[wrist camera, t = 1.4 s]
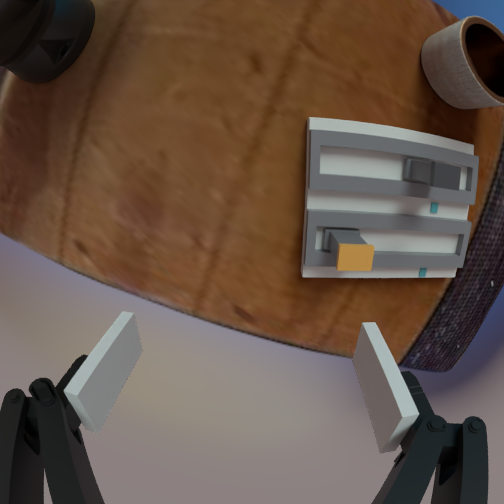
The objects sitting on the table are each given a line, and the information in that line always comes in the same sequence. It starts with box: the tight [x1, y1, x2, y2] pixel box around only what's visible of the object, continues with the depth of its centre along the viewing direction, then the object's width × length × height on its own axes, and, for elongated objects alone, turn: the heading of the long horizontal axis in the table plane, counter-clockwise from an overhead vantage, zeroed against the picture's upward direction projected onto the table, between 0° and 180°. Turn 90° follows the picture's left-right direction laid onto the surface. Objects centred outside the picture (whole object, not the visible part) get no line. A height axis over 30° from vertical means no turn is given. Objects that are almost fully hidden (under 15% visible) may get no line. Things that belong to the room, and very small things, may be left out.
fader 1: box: [323, 228, 375, 271], centre depth 29 cm, size 2×4×6 cm, turn 90°
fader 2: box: [403, 158, 461, 191], centre depth 25 cm, size 2×4×6 cm, turn 89°
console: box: [301, 117, 479, 278], centre depth 30 cm, size 18×22×3 cm
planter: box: [421, 16, 504, 109], centre depth 20 cm, size 11×11×10 cm
